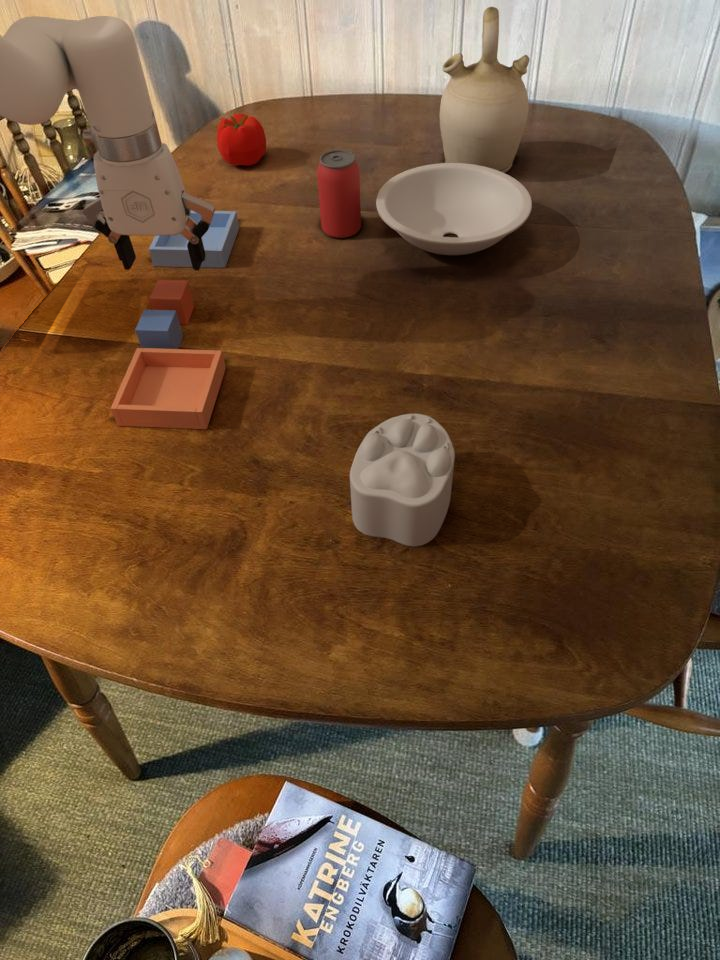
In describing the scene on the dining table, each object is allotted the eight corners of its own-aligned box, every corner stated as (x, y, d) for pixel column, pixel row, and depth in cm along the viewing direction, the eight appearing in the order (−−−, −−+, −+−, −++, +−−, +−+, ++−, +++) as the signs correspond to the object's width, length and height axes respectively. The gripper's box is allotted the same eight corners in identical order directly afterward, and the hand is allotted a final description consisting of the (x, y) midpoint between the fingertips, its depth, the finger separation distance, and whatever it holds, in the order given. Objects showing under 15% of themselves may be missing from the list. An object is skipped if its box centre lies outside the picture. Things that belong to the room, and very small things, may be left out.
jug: (425, 176, 129) (431, 19, 110) (451, 139, 138) (461, -13, 119) (508, 190, 125) (530, 30, 106) (529, 150, 134) (553, -4, 115)
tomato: (242, 145, 139) (235, 105, 134) (277, 157, 136) (272, 116, 130) (209, 165, 135) (200, 124, 129) (244, 177, 131) (237, 136, 125)
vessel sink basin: (538, 211, 121) (544, 173, 116) (509, 293, 106) (515, 253, 101) (401, 191, 126) (401, 154, 121) (356, 266, 112) (354, 228, 107)
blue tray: (153, 266, 114) (148, 249, 111) (171, 226, 121) (167, 209, 119) (225, 268, 113) (221, 250, 110) (239, 228, 120) (236, 210, 118)
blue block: (143, 356, 100) (134, 330, 96) (152, 335, 102) (144, 309, 99) (175, 357, 99) (167, 330, 96) (183, 336, 102) (175, 310, 99)
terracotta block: (157, 324, 104) (149, 298, 101) (165, 305, 107) (157, 279, 103) (187, 325, 104) (180, 299, 100) (194, 306, 107) (188, 280, 103)
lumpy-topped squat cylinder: (342, 528, 79) (338, 478, 73) (379, 446, 87) (378, 394, 81) (433, 552, 77) (437, 502, 70) (462, 465, 85) (468, 413, 78)
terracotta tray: (117, 425, 91) (110, 408, 89) (142, 365, 98) (136, 347, 96) (207, 429, 90) (202, 412, 88) (225, 368, 97) (221, 350, 95)
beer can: (350, 215, 122) (347, 144, 113) (368, 233, 118) (366, 161, 109) (315, 225, 120) (309, 154, 111) (331, 244, 116) (326, 172, 107)
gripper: (47, 155, 84) (95, 279, 97) (191, 154, 83) (220, 281, 96) (69, 126, 89) (112, 248, 102) (205, 124, 87) (231, 249, 100)
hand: (164, 264), depth 99 cm, fingers open, 9 cm apart
